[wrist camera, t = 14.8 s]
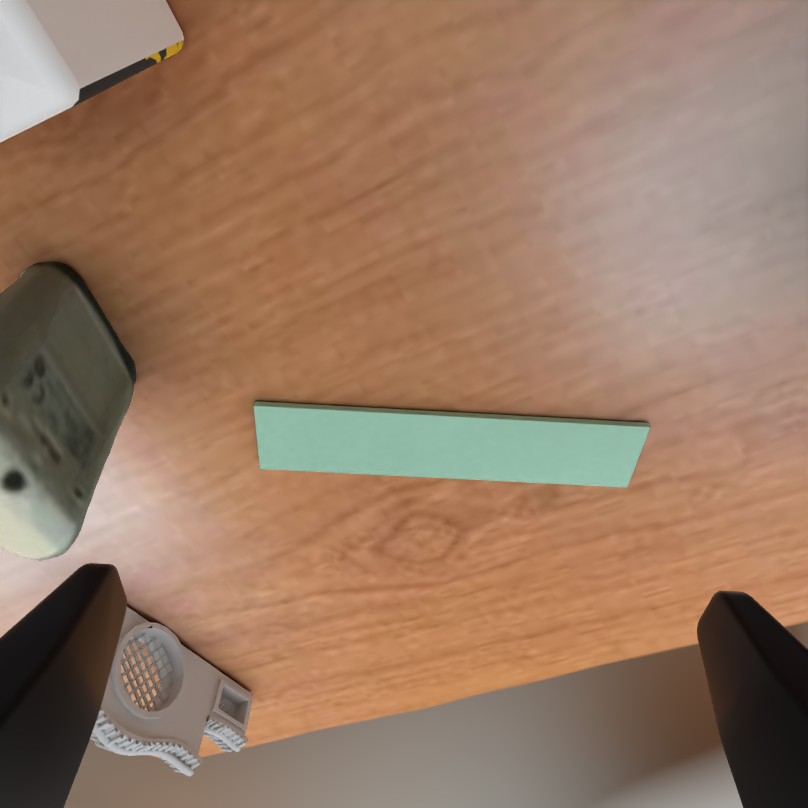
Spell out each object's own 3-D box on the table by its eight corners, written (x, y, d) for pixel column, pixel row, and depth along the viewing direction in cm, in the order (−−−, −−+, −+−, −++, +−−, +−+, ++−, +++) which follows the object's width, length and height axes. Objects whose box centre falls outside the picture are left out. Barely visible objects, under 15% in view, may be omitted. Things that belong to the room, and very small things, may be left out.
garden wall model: (259, 692, 36) (237, 807, 31) (235, 700, 37) (210, 814, 32) (99, 579, 30) (41, 701, 25) (73, 591, 30) (12, 712, 26)
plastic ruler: (648, 422, 24) (651, 427, 24) (625, 482, 26) (627, 487, 26) (254, 400, 24) (253, 405, 23) (260, 464, 25) (259, 469, 25)
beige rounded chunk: (202, 339, 22) (117, 507, 16) (127, 423, 24) (27, 600, 18) (45, 230, 20) (-131, 374, 13) (-22, 334, 22) (-199, 501, 15)
